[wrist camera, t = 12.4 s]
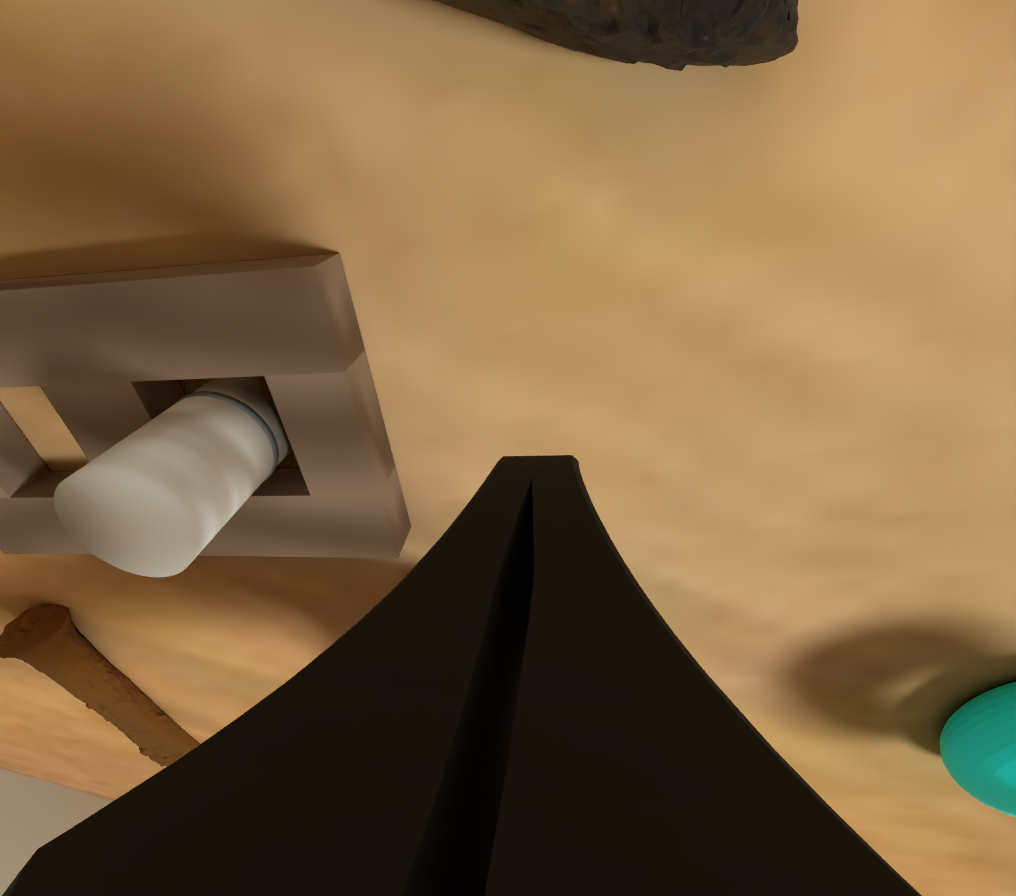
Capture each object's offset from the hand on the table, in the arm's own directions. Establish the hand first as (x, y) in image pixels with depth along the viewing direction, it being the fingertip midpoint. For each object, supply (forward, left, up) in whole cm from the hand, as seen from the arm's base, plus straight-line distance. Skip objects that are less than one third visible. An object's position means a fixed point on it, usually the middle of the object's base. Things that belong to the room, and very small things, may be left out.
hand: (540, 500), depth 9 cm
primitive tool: (-25, +30, -10) cm, 41 cm away
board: (-3, +17, -9) cm, 20 cm away
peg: (-3, +13, -9) cm, 16 cm away
